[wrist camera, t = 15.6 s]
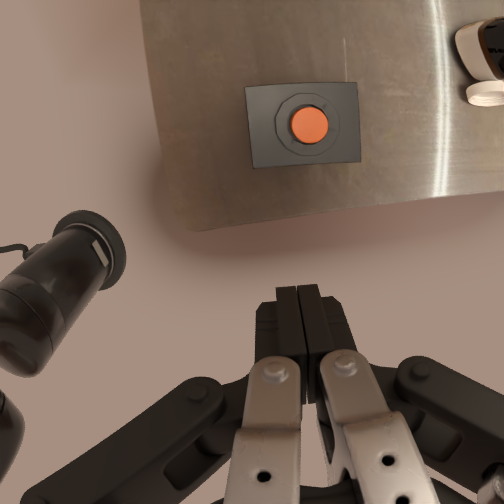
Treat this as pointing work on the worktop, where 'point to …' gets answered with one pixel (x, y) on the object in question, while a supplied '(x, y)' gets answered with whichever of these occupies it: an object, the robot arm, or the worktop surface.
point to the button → (309, 125)
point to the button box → (279, 115)
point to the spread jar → (483, 60)
